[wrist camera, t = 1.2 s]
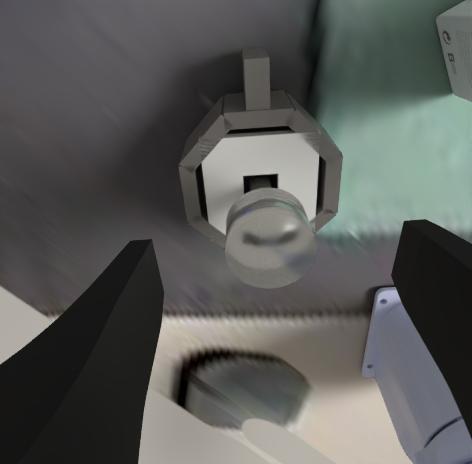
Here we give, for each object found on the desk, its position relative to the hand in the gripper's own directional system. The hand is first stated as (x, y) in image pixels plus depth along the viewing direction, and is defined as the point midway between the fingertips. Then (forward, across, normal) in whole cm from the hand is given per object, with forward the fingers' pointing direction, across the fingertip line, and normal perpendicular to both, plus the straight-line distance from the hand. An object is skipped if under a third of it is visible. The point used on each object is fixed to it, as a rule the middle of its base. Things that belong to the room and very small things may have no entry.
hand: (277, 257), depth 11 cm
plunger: (+8, 0, +1) cm, 8 cm away
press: (+11, 0, +2) cm, 11 cm away
